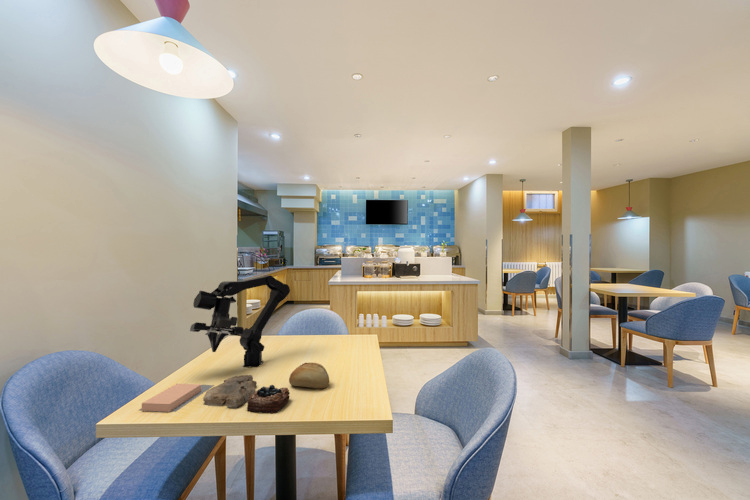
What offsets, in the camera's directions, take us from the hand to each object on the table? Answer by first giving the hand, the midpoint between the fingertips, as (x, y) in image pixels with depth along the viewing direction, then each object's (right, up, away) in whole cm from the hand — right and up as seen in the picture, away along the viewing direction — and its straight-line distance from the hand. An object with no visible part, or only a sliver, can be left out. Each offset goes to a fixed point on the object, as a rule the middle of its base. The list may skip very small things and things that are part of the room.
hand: (213, 352), depth 122 cm
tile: (-3, -8, -12) cm, 15 cm away
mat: (-3, -10, -17) cm, 20 cm away
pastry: (+29, -10, -22) cm, 38 cm away
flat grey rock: (+14, -11, -14) cm, 23 cm away
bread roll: (+39, -10, -7) cm, 41 cm away
